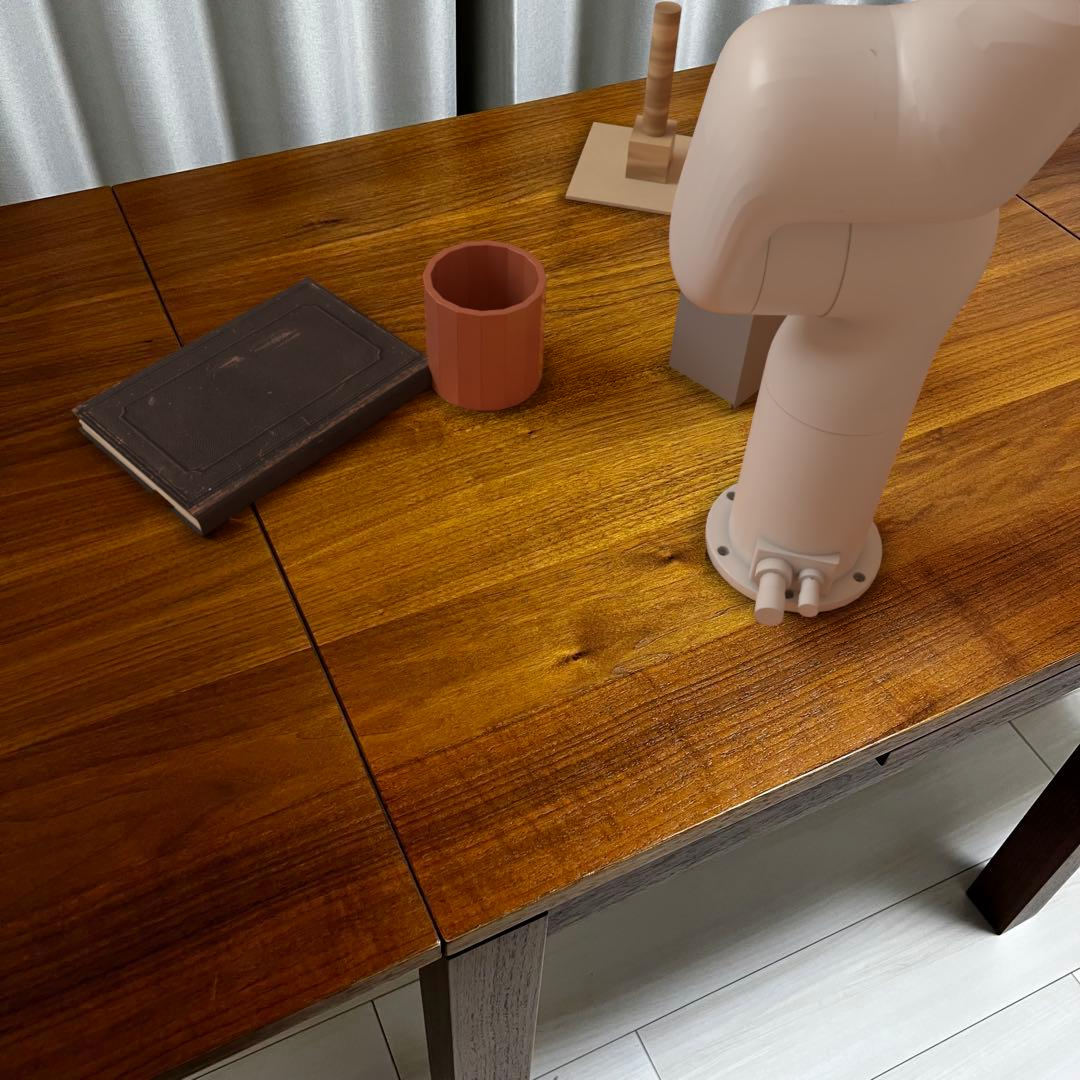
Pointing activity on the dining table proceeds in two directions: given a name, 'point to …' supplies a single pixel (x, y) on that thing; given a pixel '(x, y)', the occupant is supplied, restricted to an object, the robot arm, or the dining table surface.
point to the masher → (656, 102)
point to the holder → (485, 324)
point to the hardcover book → (253, 402)
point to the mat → (622, 173)
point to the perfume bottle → (722, 349)
